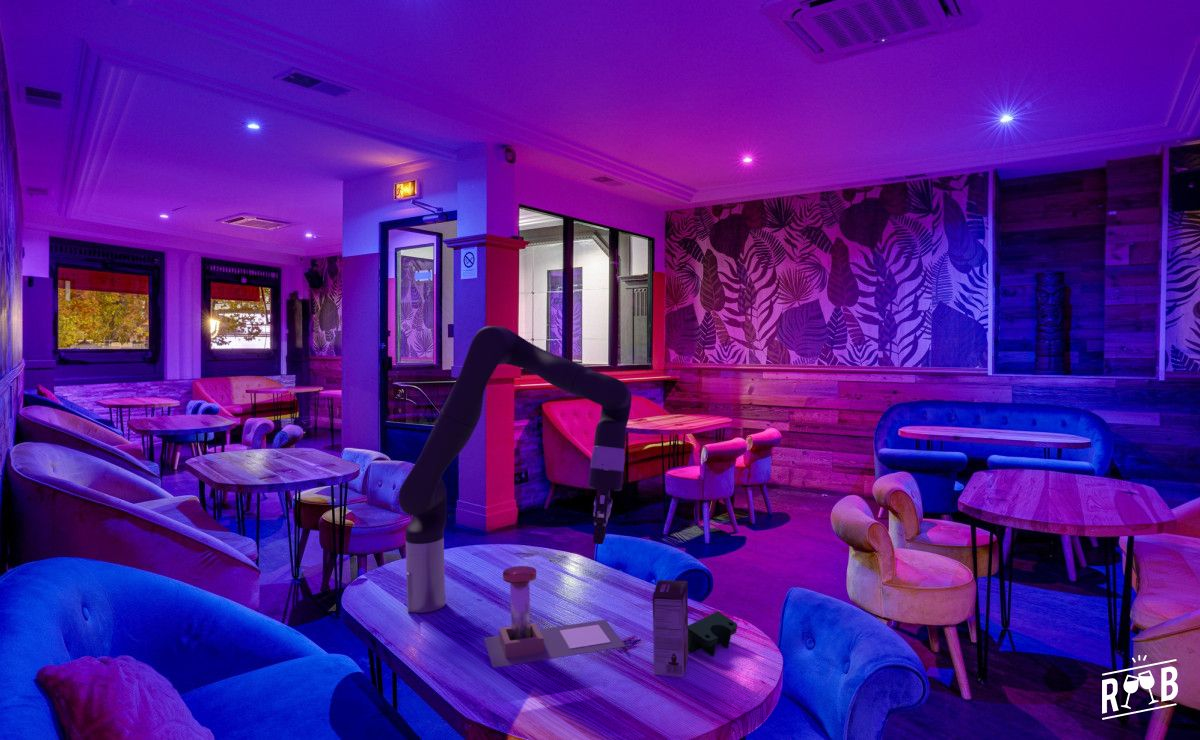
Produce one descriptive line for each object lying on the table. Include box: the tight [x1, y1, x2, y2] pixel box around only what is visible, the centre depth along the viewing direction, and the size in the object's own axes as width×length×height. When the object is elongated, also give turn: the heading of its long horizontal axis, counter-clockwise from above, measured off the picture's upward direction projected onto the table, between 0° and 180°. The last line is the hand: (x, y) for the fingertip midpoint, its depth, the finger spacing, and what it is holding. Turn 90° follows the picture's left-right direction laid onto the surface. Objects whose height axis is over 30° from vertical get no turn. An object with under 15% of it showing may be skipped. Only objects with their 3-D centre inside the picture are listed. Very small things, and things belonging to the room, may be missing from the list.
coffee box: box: [652, 579, 689, 678], centre depth 132 cm, size 9×6×16 cm
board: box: [483, 619, 627, 669], centre depth 141 cm, size 28×14×4 cm, turn 107°
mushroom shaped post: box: [502, 565, 537, 640], centre depth 138 cm, size 7×7×16 cm
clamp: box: [688, 610, 738, 658], centre depth 140 cm, size 12×6×9 cm, turn 127°
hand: (598, 541), depth 144 cm, fingers open, 8 cm apart
